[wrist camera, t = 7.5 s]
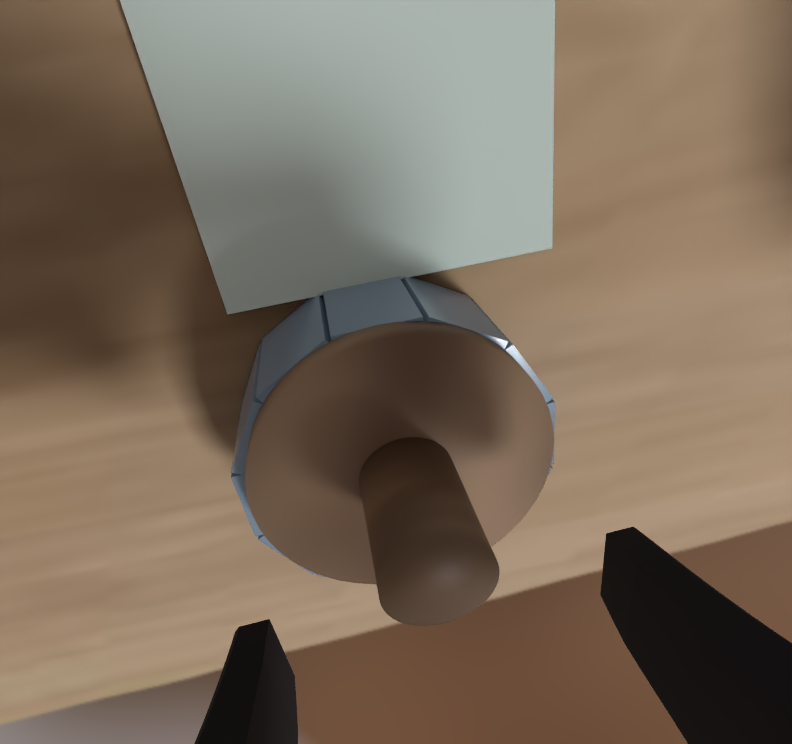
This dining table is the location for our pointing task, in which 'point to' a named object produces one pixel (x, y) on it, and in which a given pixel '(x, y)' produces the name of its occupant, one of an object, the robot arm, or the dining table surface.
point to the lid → (401, 464)
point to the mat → (354, 135)
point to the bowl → (343, 316)
